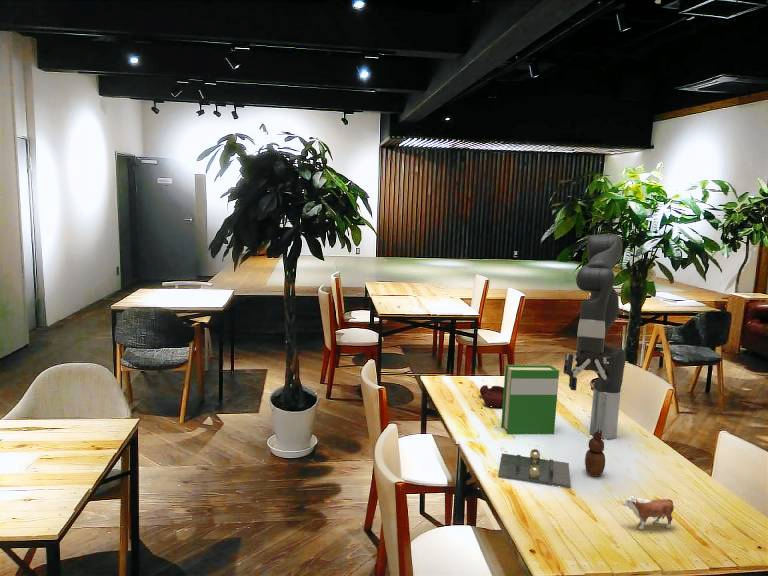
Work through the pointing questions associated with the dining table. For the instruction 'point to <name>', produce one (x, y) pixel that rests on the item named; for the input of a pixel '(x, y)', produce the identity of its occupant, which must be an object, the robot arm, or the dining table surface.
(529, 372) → the hardback book
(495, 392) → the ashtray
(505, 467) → the metal mounting plate
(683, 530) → the dining table surface
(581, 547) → the dining table surface
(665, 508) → the bull figurine
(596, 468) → the wooden figurine
